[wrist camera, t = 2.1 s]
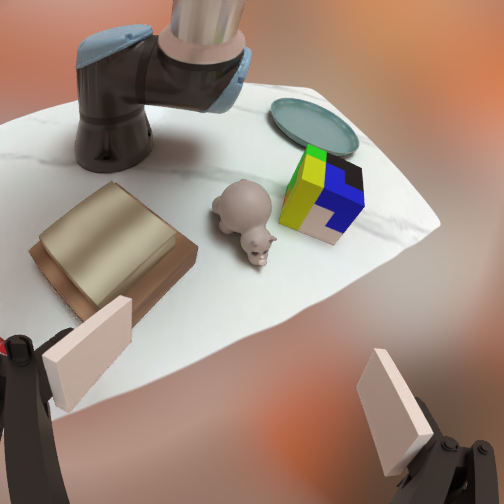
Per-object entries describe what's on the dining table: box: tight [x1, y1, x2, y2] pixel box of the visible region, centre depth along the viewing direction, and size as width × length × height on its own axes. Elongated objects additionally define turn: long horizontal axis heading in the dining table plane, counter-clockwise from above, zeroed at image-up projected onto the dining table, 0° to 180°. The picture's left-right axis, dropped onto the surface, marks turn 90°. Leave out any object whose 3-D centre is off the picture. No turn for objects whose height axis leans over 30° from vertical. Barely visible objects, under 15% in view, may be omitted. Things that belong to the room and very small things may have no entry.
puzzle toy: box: [279, 144, 365, 245], centre depth 45 cm, size 10×10×10 cm
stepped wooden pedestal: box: [29, 181, 198, 328], centre depth 31 cm, size 16×16×7 cm
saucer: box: [271, 98, 359, 156], centre depth 66 cm, size 24×24×3 cm
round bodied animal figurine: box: [212, 179, 277, 266], centre depth 39 cm, size 7×12×8 cm, turn 25°
